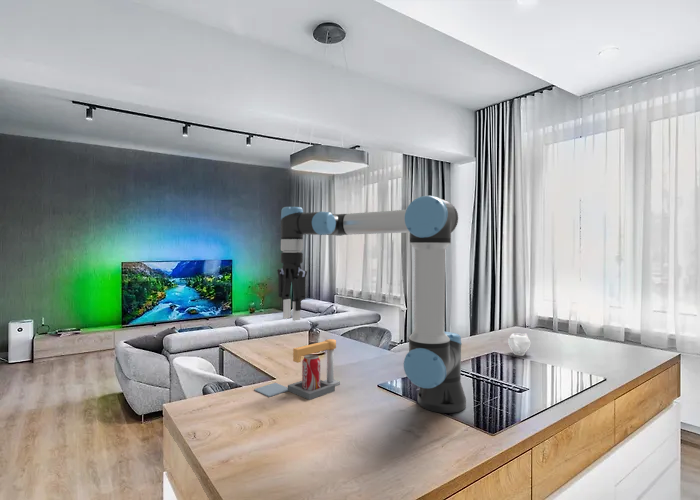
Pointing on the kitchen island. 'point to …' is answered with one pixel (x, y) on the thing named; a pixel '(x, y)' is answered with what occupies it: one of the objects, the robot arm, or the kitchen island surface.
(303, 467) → the kitchen island surface
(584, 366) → the kitchen island surface
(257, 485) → the kitchen island surface
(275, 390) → the rubber mat
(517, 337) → the white rounded lump
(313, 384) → the beverage can
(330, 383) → the square ring with handle
